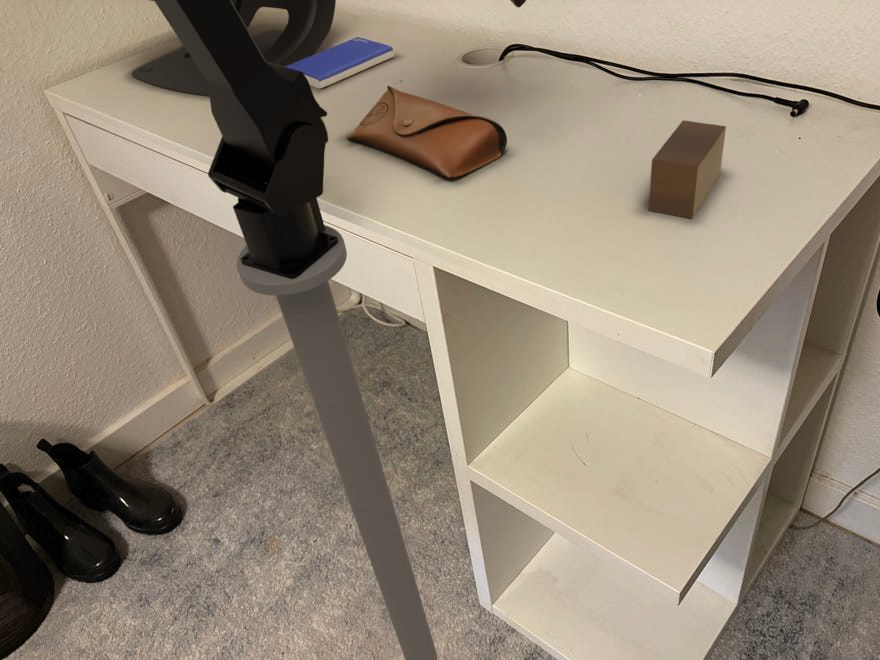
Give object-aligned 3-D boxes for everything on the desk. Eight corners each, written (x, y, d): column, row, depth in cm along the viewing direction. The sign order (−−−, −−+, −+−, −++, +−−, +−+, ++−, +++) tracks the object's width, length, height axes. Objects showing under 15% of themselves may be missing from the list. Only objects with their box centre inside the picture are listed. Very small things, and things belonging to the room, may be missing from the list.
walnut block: (692, 219, 65) (697, 166, 61) (648, 210, 66) (651, 159, 63) (719, 176, 70) (726, 125, 66) (678, 169, 71) (682, 119, 68)
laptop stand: (354, 40, 108) (329, -80, 97) (233, 105, 94) (189, -27, 84) (235, 23, 120) (202, -86, 109) (113, 78, 106) (61, -41, 96)
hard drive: (355, 35, 105) (283, 65, 99) (392, 46, 100) (318, 77, 94) (358, 47, 106) (286, 77, 100) (394, 57, 101) (321, 90, 95)
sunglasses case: (339, 136, 83) (351, 75, 81) (385, 145, 88) (398, 88, 86) (452, 181, 73) (470, 112, 71) (497, 187, 78) (514, 123, 76)
